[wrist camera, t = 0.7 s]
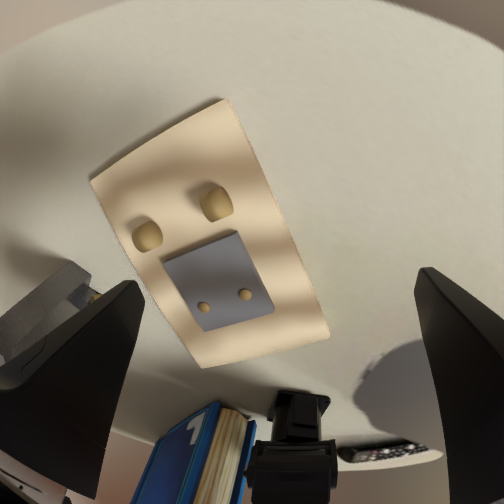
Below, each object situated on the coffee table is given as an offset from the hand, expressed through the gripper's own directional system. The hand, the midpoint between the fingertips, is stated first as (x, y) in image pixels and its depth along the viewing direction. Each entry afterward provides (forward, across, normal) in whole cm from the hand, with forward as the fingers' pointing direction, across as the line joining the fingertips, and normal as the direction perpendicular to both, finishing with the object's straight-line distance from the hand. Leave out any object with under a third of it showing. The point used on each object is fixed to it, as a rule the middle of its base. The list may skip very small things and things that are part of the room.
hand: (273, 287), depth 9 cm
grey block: (+13, +23, +12) cm, 29 cm away
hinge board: (+14, +7, +8) cm, 17 cm away
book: (+9, +15, +36) cm, 40 cm away
